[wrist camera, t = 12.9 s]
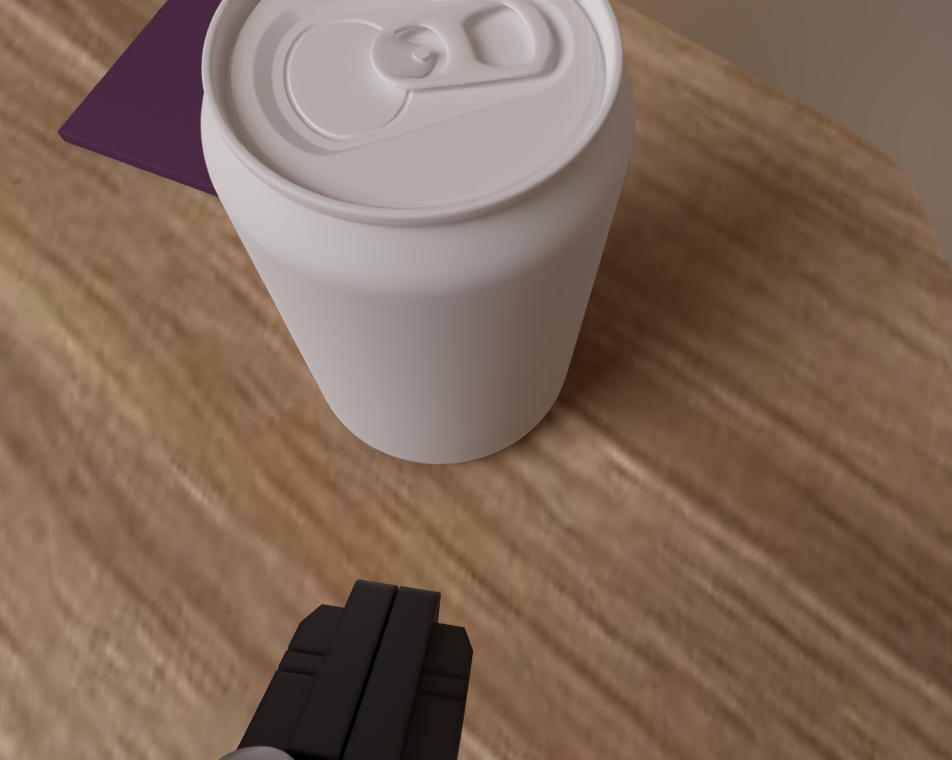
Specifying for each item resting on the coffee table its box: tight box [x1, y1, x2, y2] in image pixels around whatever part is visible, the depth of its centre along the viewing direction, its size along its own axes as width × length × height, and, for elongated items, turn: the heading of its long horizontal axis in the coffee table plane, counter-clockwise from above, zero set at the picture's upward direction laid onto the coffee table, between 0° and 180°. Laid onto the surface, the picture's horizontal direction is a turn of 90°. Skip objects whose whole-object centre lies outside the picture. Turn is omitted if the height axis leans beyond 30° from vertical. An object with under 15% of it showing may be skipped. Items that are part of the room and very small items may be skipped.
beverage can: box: [201, 0, 635, 464], centre depth 17 cm, size 8×8×12 cm
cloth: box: [58, 0, 222, 197], centre depth 27 cm, size 12×11×1 cm
